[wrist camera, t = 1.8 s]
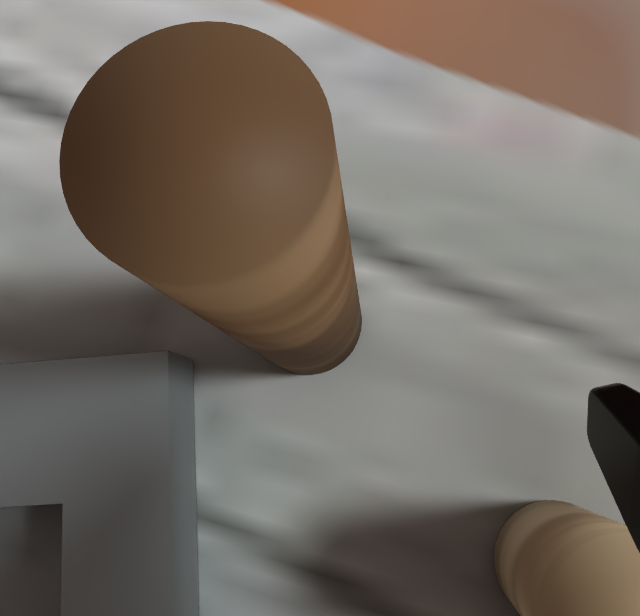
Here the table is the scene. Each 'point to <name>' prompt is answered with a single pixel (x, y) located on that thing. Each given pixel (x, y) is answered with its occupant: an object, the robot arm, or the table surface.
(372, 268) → the table surface
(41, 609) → the table surface
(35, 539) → the table surface
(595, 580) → the short beech pin
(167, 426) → the slate hole plate
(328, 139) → the walnut pin
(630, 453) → the robot arm
